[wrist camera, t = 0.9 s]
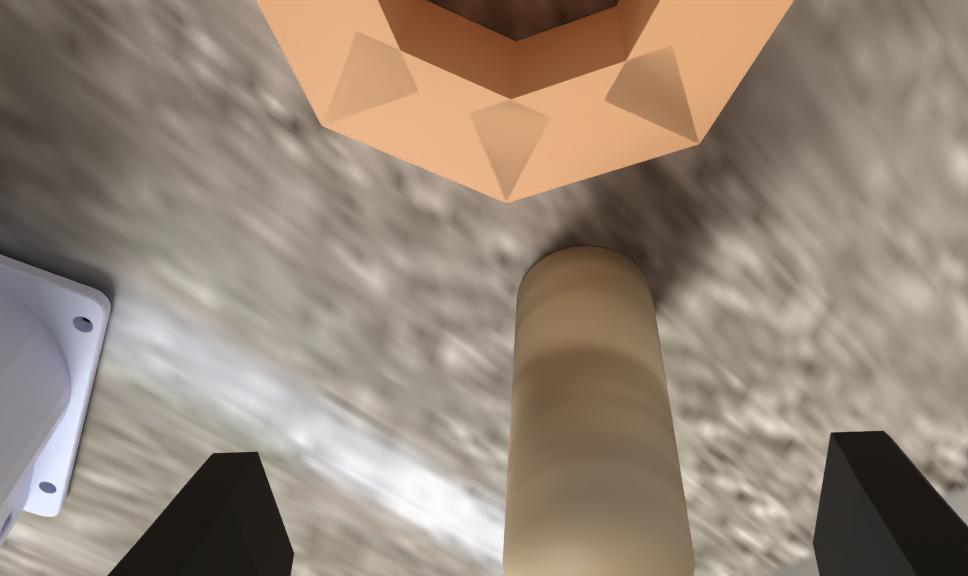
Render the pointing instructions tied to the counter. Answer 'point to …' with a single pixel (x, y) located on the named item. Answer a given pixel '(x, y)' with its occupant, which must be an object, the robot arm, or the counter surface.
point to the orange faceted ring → (521, 83)
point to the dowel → (591, 427)
